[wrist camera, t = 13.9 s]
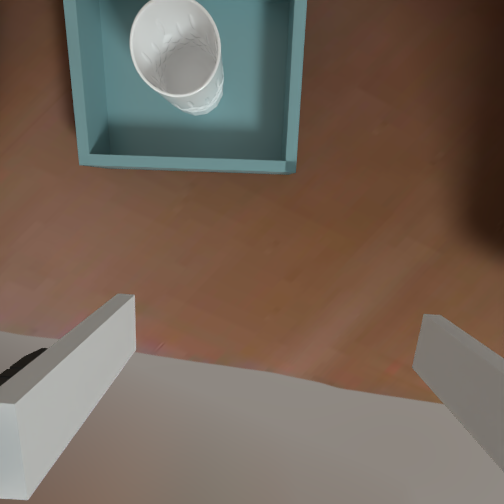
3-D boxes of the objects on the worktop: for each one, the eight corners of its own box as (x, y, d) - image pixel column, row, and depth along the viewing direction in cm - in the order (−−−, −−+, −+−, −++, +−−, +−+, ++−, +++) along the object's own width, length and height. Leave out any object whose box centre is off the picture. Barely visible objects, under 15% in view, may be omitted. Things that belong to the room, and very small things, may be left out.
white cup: (163, 45, 34) (128, -12, 24) (230, 52, 34) (223, -3, 24) (163, 118, 35) (130, 93, 26) (226, 123, 36) (218, 100, 26)
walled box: (299, -3, 33) (309, -43, 28) (288, 174, 38) (295, 172, 32) (91, -13, 33) (57, -55, 27) (105, 168, 38) (79, 165, 32)
